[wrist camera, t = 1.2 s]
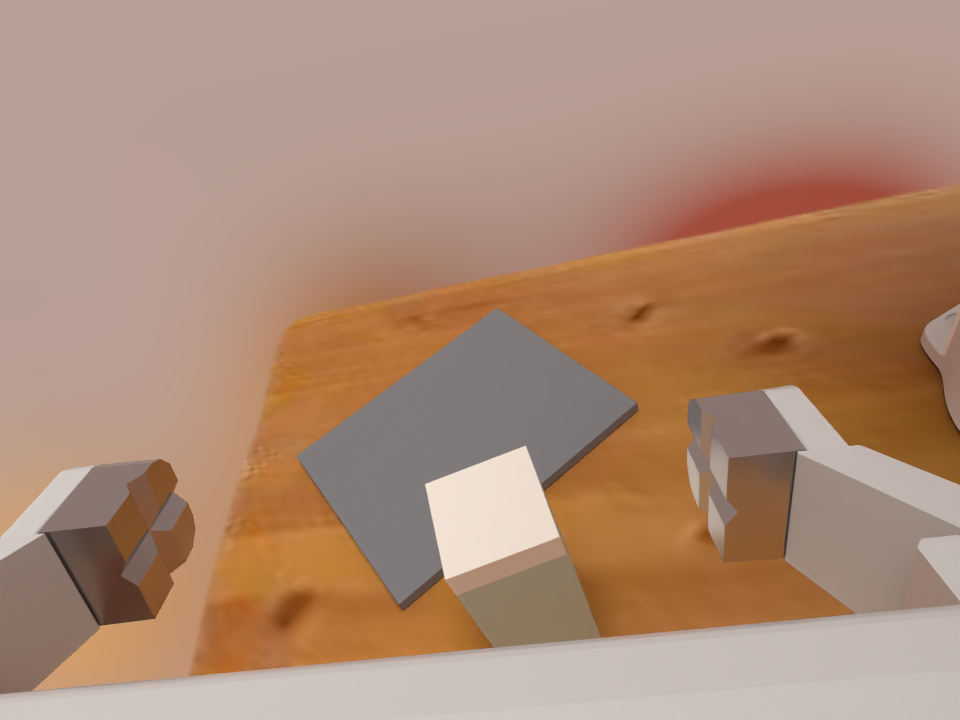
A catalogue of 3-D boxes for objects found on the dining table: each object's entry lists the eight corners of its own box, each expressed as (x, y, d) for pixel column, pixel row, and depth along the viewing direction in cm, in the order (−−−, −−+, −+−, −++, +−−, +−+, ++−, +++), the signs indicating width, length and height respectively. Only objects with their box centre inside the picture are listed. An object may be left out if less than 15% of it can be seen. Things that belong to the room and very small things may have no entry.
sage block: (573, 565, 39) (525, 445, 30) (604, 647, 35) (559, 536, 27) (494, 595, 39) (425, 484, 30) (517, 680, 35) (445, 579, 27)
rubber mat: (499, 314, 56) (496, 307, 55) (638, 410, 45) (636, 402, 44) (301, 461, 51) (296, 456, 50) (403, 610, 40) (398, 604, 39)
